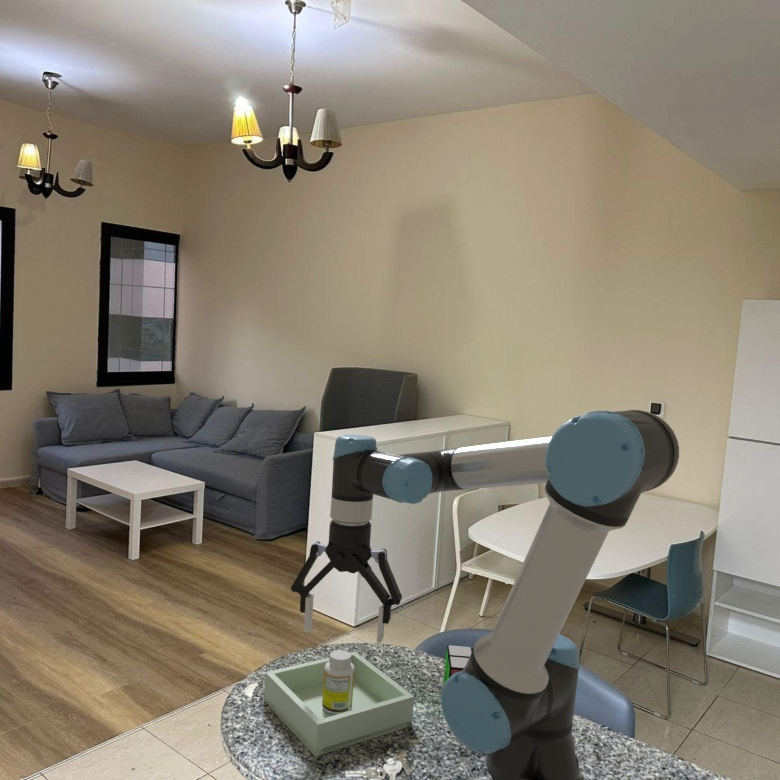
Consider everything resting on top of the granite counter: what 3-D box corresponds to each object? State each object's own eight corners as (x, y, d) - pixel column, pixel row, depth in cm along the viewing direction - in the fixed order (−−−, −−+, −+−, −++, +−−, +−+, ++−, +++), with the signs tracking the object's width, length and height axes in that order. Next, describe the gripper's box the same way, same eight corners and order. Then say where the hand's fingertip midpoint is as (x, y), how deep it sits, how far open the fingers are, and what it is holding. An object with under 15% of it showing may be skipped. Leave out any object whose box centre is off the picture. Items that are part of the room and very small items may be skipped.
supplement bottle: (335, 697, 134) (339, 645, 134) (357, 708, 131) (362, 655, 130) (315, 707, 130) (319, 654, 129) (337, 719, 127) (341, 664, 126)
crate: (411, 725, 129) (414, 696, 128) (315, 756, 117) (317, 724, 117) (353, 677, 145) (355, 651, 144) (263, 700, 133) (265, 672, 133)
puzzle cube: (499, 724, 132) (503, 672, 131) (445, 719, 132) (449, 667, 131) (492, 696, 142) (496, 648, 141) (442, 692, 142) (446, 644, 141)
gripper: (421, 522, 130) (413, 635, 131) (290, 508, 134) (284, 618, 135) (416, 533, 122) (408, 652, 124) (278, 518, 126) (271, 633, 128)
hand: (343, 634), depth 129 cm, fingers open, 13 cm apart
